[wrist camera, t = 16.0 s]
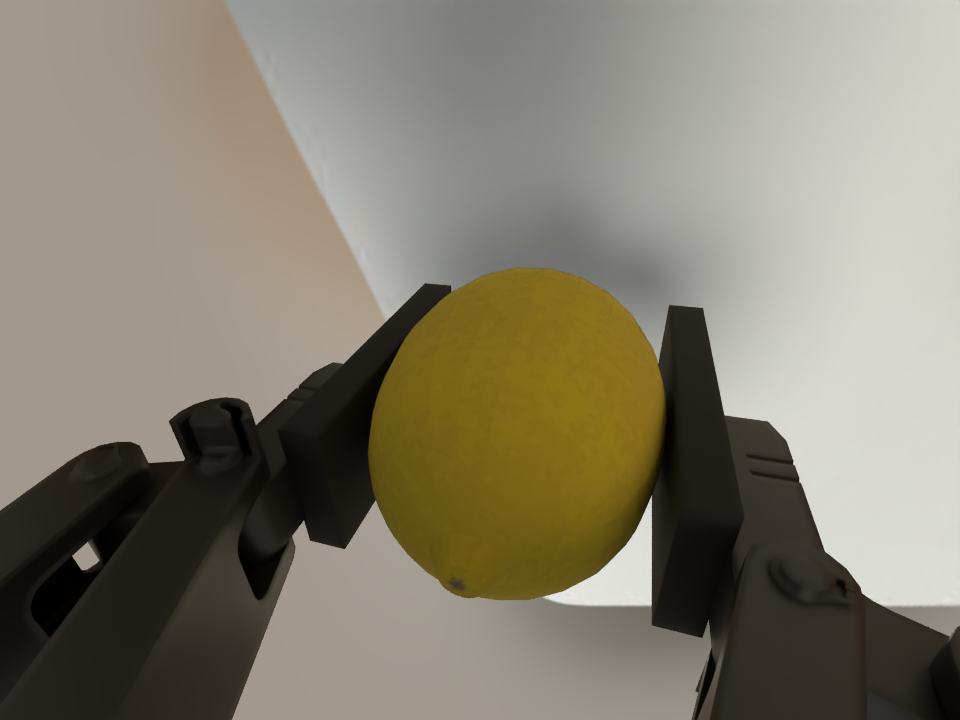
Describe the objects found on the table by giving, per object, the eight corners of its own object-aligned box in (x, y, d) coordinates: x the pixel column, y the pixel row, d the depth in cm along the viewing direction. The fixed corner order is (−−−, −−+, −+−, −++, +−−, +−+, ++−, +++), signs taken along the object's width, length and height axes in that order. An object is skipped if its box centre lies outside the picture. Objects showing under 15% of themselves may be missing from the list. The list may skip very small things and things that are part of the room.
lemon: (507, 179, 12) (327, 341, 5) (712, 294, 12) (785, 598, 5) (428, 349, 15) (255, 579, 8) (589, 438, 15) (540, 738, 8)
